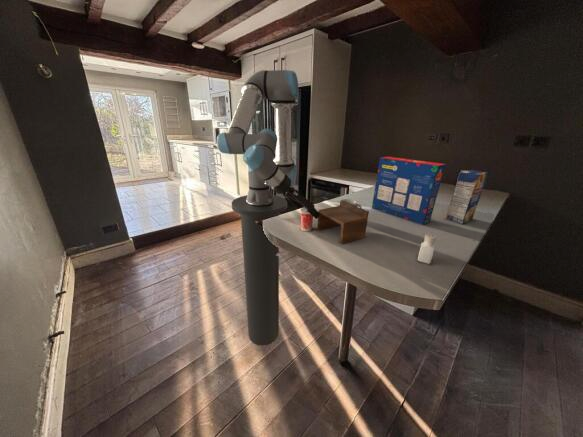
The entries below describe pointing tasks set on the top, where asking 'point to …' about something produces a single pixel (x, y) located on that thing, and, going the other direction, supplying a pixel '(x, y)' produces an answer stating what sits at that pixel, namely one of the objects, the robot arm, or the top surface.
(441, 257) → the top surface
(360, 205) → the cup
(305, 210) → the beverage cup
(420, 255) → the pepper shaker
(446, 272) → the top surface
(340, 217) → the shelf
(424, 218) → the blue flat box
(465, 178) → the juice carton
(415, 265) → the top surface
